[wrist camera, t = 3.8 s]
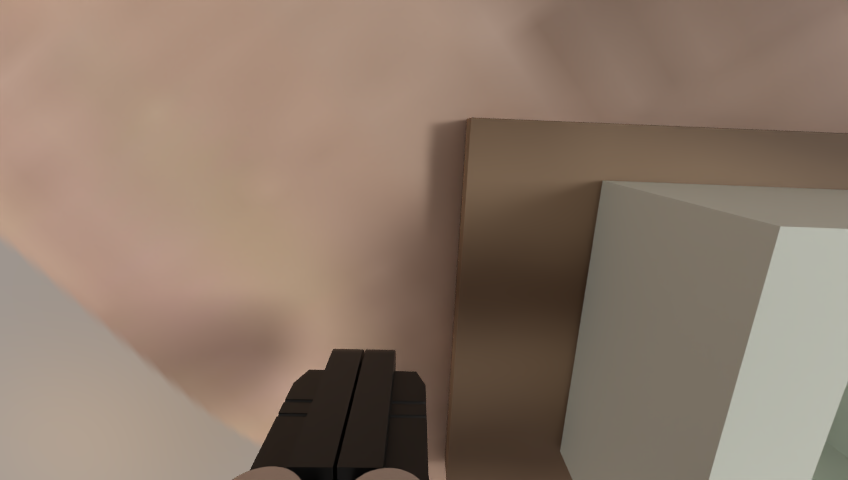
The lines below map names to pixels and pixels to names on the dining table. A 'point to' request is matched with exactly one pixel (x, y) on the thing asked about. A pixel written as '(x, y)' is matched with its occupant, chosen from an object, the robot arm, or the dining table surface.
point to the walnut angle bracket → (567, 262)
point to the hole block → (712, 336)
